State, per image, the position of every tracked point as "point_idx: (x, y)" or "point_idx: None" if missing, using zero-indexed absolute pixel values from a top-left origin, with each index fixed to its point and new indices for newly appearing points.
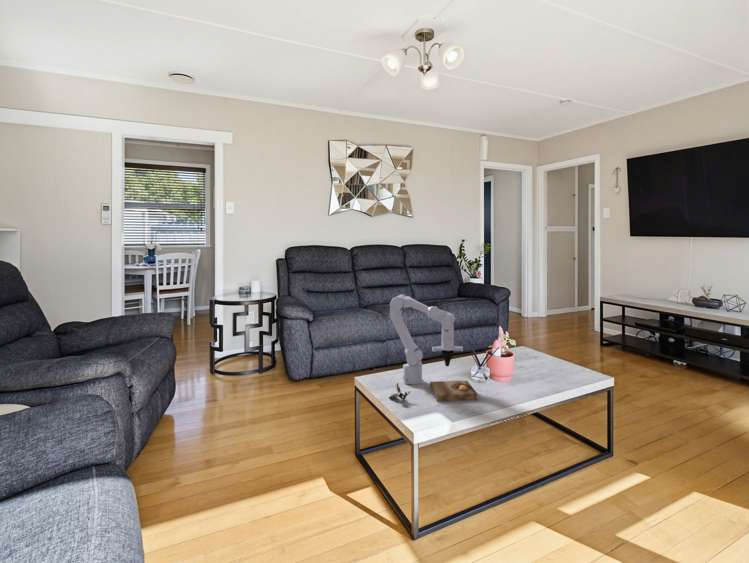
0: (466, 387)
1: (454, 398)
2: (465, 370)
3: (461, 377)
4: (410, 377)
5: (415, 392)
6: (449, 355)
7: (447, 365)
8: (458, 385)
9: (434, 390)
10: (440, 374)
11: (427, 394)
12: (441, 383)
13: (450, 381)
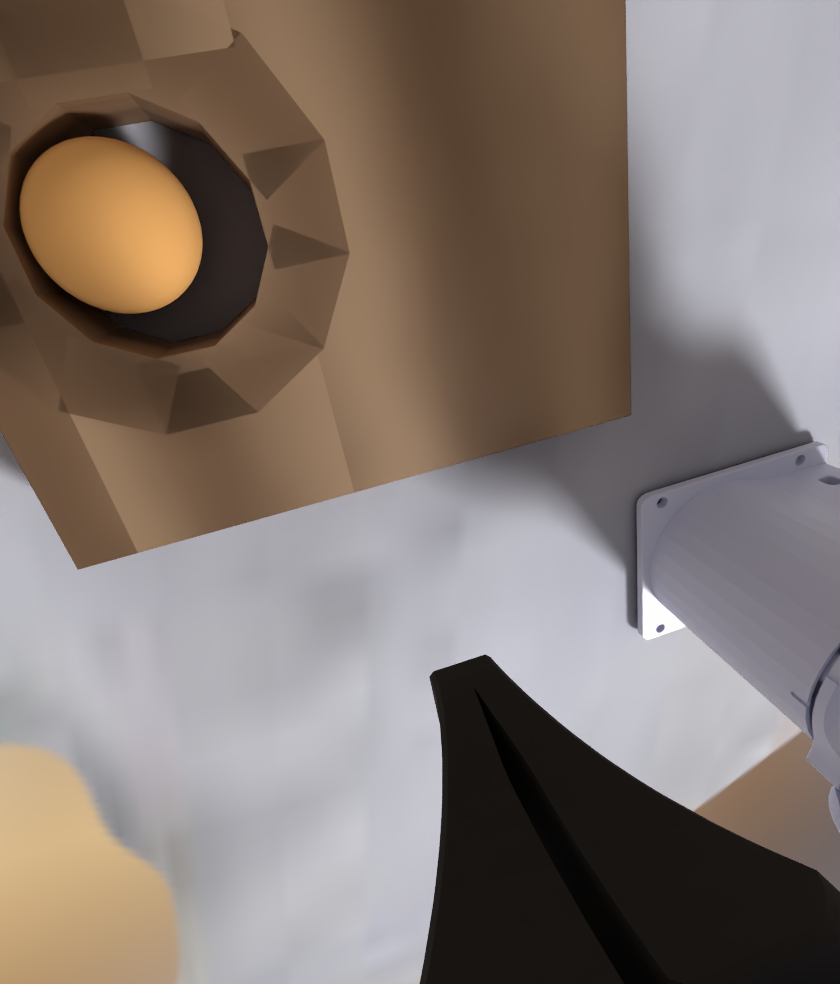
0: (25, 201)
1: None
2: (184, 945)
3: (212, 777)
4: (822, 501)
5: (770, 205)
6: (559, 932)
7: (469, 669)
8: (209, 346)
9: (620, 33)
10: (441, 777)
11: (646, 143)
12: (485, 370)
13: (348, 479)
